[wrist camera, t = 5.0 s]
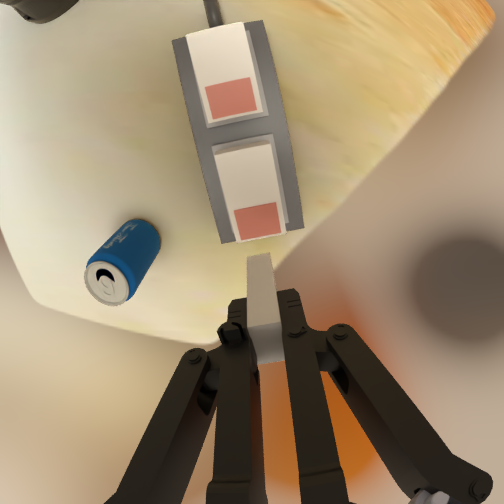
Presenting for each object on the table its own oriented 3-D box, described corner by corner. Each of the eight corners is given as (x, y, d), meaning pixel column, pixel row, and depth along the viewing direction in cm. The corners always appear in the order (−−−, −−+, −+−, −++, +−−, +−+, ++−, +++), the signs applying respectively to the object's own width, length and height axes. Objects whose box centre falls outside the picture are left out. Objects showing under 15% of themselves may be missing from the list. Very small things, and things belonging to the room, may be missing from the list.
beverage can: (159, 216, 35) (125, 258, 25) (164, 259, 38) (137, 311, 28) (117, 217, 35) (74, 257, 25) (125, 258, 38) (89, 306, 27)
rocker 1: (189, 37, 19) (184, 34, 17) (242, 25, 19) (243, 21, 17) (210, 118, 25) (208, 123, 23) (260, 108, 24) (263, 112, 22)
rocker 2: (216, 150, 25) (213, 155, 23) (268, 139, 24) (270, 143, 22) (237, 232, 29) (236, 244, 27) (283, 223, 29) (286, 234, 27)
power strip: (172, 12, 23) (161, -2, 18) (251, -5, 22) (251, -23, 17) (224, 231, 37) (220, 248, 32) (298, 216, 36) (306, 231, 31)
